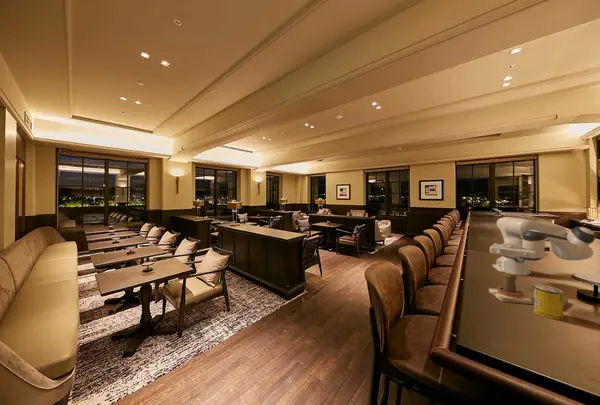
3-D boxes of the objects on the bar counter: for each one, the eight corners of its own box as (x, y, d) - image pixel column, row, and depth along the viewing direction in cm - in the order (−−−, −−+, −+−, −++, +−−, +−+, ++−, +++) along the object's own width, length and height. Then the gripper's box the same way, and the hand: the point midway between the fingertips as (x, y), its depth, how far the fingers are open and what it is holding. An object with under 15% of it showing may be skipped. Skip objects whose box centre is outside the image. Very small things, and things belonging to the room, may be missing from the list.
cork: (520, 296, 119) (520, 275, 119) (509, 296, 119) (509, 275, 119) (509, 291, 125) (509, 271, 125) (498, 291, 125) (499, 272, 125)
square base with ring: (488, 291, 130) (488, 284, 130) (516, 293, 127) (516, 286, 127) (502, 301, 118) (502, 294, 118) (533, 304, 114) (533, 296, 114)
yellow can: (553, 311, 108) (553, 286, 107) (568, 321, 99) (568, 294, 99) (529, 308, 110) (529, 284, 110) (542, 317, 102) (542, 291, 102)
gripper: (536, 258, 132) (537, 263, 123) (491, 252, 147) (488, 256, 137) (536, 247, 132) (537, 251, 123) (491, 242, 147) (488, 246, 137)
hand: (511, 254), depth 130 cm, fingers open, 8 cm apart
